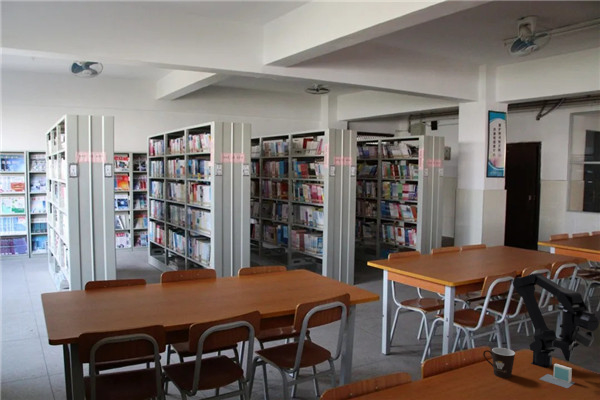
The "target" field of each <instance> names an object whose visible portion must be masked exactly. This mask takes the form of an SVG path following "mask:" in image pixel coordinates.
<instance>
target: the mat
mask: <svg viewBox="0 0 600 400" xmlns="http://www.w3.org/2000/svg"><path fill="white" fill-rule="evenodd" d="M539 380H541V381H544V382H546V383H550V384H553V385H556V386H559V387H562V388H564V389H565V388H566V389H569V388H570V387H571V386H573V385H574V384H575V383H576V382H575V381H572V380H571V382H570V383H567V382H564V381H561V380H558V379H555V378H553V375H552V374H549V373H546V374H545V375H543V376H541V377H540V378H539Z"/></svg>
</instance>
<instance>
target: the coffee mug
mask: <svg viewBox="0 0 600 400" xmlns="http://www.w3.org/2000/svg"><path fill="white" fill-rule="evenodd" d="M486 353H489V354H490V355H491V357H492V362H491V361H490V360H489V359H488V358H487V356H486V355H485V354H486ZM482 355H483V358H484V360H485V361H486V362H488V363H489V364H490V365H491V366H492V368H493V375H494V376H496V377H498V378H501V379H510V378H511V377H512V373H513V369H514V368H513V367H514V360H515V358H516V357H515V356H516V352H515V351H514V350H512V349H509V348H505V347H493V348H492V349H491V350H489V349H488V350H487V349H486V350H484V351H483V353H482Z"/></svg>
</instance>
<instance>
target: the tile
mask: <svg viewBox="0 0 600 400" xmlns="http://www.w3.org/2000/svg"><path fill="white" fill-rule="evenodd" d="M572 371H573V368H572V367H568V366H565V365H562V364H558V363H554V364H553V378H555V379H558V380H561V381H564V382H567V383H570V382H571V381H572Z"/></svg>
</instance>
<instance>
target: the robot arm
mask: <svg viewBox="0 0 600 400" xmlns="http://www.w3.org/2000/svg"><path fill="white" fill-rule="evenodd" d="M512 285H513V288H514V290H515V292H516V293H517V294H518V295H519V296H520V298H522V300H523V302H524V306H525V308H526V311H527V313H528V315H529V318H530V321H531V323H532V326H533V328H534V333H533V339H534V341H533V342H531V343H530V344H529V349H530V351H532V362H531V363H530V364H531V365H534V366H538V367H540V368H544V369H548V368H549V367H551V366H553V356H552V353H553V352H555V350H556V348H558V349H560V350H561V352H562V355H563V356H564V359H565V361H567V362H570V361H571V358H572V356H573V353H574V350H575V348H577V347H578V346H580V344H582V345H583V346H584V347H587V348H589V347H590V346H591V345H592V344H593V342H594V341H595V337H594V336H595V335H594V331H596V330H597V329H598V327H599V323H600V322H599V319H598V317H597V316H596V313H594V312H591V311H589V309H588V307H587V305H586V303H585V301H584V299H583V296H582V294H581V293H580V292H579V291H575V290H574V289H569V288H565V287H563V286H561V285H560V284H558V283H556V282H554V281H552V280H551V279H550V278H548V277H547V276H545V275H544V274H543V273H540V272H537V273H536V272H535V273H530V274H528V275H525V276H519V277H515V278H514V279H513V282H512ZM536 286H538V287H540V288H541V289H543V290H545V291H546V292H548V293H549V294H551V295H553V296H554V297H555V298H556V301H557V302H558V303H560V304H561V305H560V306H558V307H557V309H558V310H560V311H562V313H561V323H560V324H559V328H561V333H560V334H559V336H558V337H557V335H556V332H555V330H554V329H550V328H548V326H547V324H546V322H545V319H544V317H543V314H542V311H541V308H540V306H539V304H538V301H537V299H536V297H535V291H536ZM581 329H585V330H587V332H586V331H583V330H581ZM577 342H578V343H577Z"/></svg>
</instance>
